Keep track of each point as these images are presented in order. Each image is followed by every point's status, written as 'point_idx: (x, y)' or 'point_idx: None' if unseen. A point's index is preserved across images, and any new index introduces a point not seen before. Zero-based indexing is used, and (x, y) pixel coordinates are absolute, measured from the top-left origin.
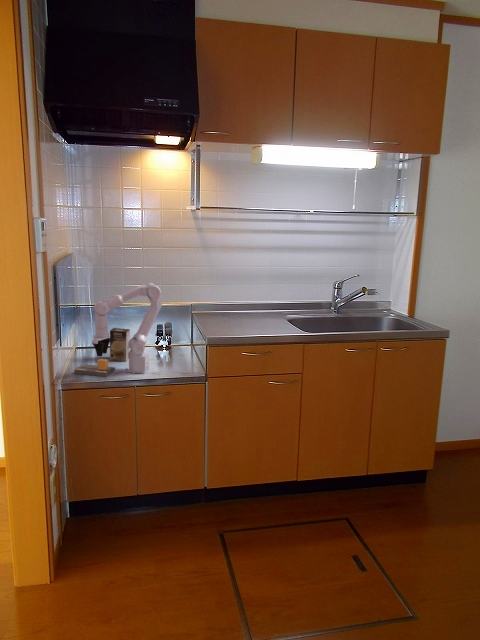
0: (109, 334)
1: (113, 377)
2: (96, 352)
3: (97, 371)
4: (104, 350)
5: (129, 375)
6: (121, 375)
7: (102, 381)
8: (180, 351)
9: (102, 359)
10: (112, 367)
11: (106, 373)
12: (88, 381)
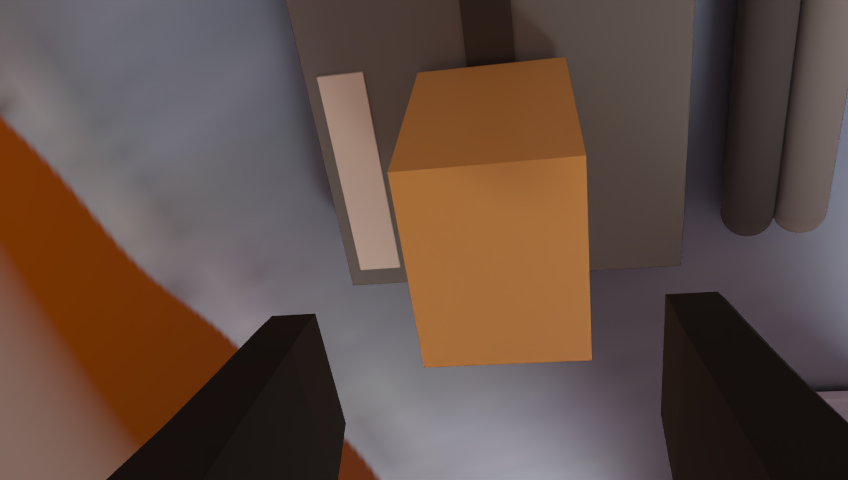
0: None
1: (396, 339)
2: (189, 403)
3: (331, 118)
4: (689, 463)
5: (566, 470)
6: (526, 393)
7: (167, 285)
8: None
9: (538, 245)
10: (797, 182)
11: (372, 272)
12: (27, 103)
